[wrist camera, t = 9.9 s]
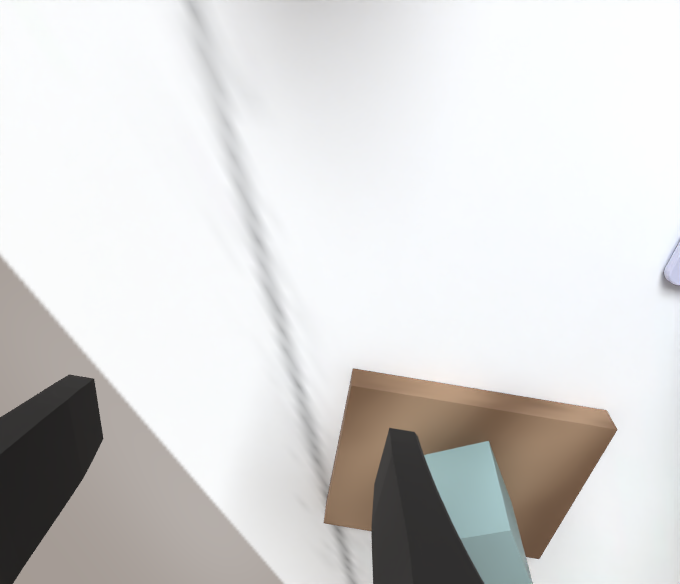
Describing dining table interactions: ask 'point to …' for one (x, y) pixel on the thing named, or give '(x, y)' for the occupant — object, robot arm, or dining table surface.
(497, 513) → the teal cube
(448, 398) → the walnut board
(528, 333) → the dining table surface
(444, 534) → the robot arm
